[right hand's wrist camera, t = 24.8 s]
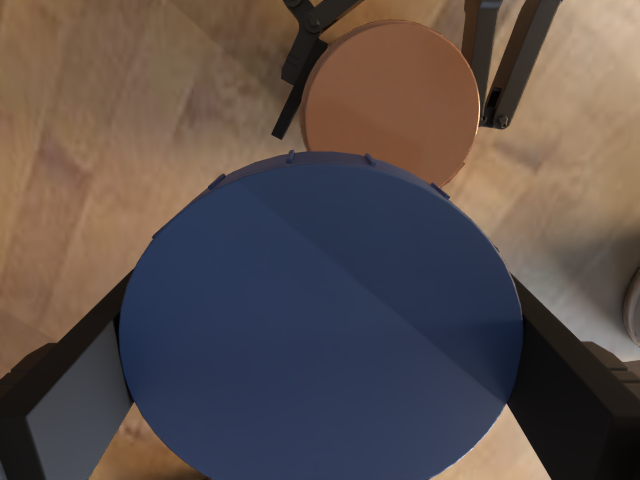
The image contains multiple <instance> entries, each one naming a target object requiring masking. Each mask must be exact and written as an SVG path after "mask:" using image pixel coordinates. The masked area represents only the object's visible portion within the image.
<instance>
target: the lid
mask: <svg viewBox="0 0 640 480" xmlns="http://www.w3.org/2000/svg"><path fill="white" fill-rule="evenodd" d="M449 198H450V196H448V195H447V194H446V193H445V192H444V191H443V190H441V189H440V188H439V187H438V186H437V185H435V184H434V183H433V182H432V183H431V185H430V184H429V183H427V182H425V181H424V180H422V179H420V178H418V177H417V176H415V175H413V174H412V173H410V172H408V171H406V170H404V169H401V168H399V167H397V166H394V165H392V164H389V163H387V162H385V161H381V160H377V159H374V158H372V157H371V155H370V154H368V153H365V156H362V155H358V154H350V153H342V152H334V151H307V152H299V153H295V152H294V150H290V152H289V154H285V155H279V156H276V157H272V158H269V159H265V160H261V161H258V162H255V163H252V164H250V165H248V166H246V167H243V168H241V169H239V170H236V171H234V172H232V173H230V174H229V175H227V176H225V174H222V175H220V176H219V177H218V178H217V179H216V180H215V181H214V182H212V183H211V184H210V185H209V186H208V188H207V189H206V190H205V191H203V192H202V193H201V194H200V195H198V196H197V197H196V198H195V199H194V200H192V201H191V202H190V203H189V204H188V205H187V206H186V207H185V208H183V209H182V210H181V211H180V212H179V213H178V214H177V215H176V216H175V217H173V218H172V219H171V220H170V221H169V222H168V223H167V224H165V225H164V226H163V227H162V228H161V229H160V230H159V231H158V232H156V233H155V234H154V235H153V237H152V238H153V240H152V241H151V242H150V244H149V245H148V247H147V248H146V250H145V252H144V253H143V255H142V256H141V258H140V259H139V261H138V262H137V264H136V266H135V269H134V271H133V273H132V275H131V278H130V280H129V282H128V284H127V287H126V291H125V295H124V298H123V302H122V306H121V312H120V321H119V331H118V333H119V352H120V358H121V363H122V368H123V373H124V377H125V380H126V382H127V385H128V388H129V390H130V393H131V396H132V398H133V400H134V402H135V403H136V405H137V407H138V409H139V411H140V413H141V414H142V416H143V418H144V419H145V420H146V422H147V423H148V424H149V426H150V427H151V429H152V430H153V431H154V433H155V434H156V435H157V436H158V437H159V438H160V439H161V440H162V441H163V442H164V443H165V445H166V446H167V447H168V448H169V449H170V450H171V451H173V452H174V453H175V454H176V455H177V456H179V457H180V458H181V459H182V460H183V461H184V462H186V463H187V464H188V465H190V466H191V467H193V468H194V469H196V470H197V471H199V472H200V473H202V474H203V475H205V476H207V477H209V478H211V479H213V480H429V479H431V478H433V477H435V476H436V475H438V474H440V473H441V472H443V471H444V470H446V469H447V468H449V467H450V466H452V465H453V464H455V463H456V462H457V461H459V460H460V459H461V458H462V457H463V456H464V455H466V454H467V453H468V452H469V451H470V450H471V449H473V448H474V447H475V446H476V444H477V443H478V442H479V441H480V440H481V439H482V438H483V437H484V436H485V435H486V434H487V432H488V431H489V430H490V429H491V427H492V426H493V424H494V423H495V421H496V420H497V419H498V417H499V416H500V414H501V413H502V411H503V409H504V407H505V405H506V403H507V401H508V399H509V397H510V396H511V393H512V390H513V388H514V384H515V380H516V375H517V370H518V365H519V361H520V356H521V351H522V345H523V333H524V328H523V320H522V311H521V304H520V301H519V297H518V294H517V290H516V287H515V283H514V281H513V279H512V277H511V275H510V272H509V270H508V268H507V266H506V264H505V262H504V260H503V258H502V257H501V255H500V254H499V250H498V249H497V248H496V247H495V246H494V245H493V244H492V242H491V241H490V239H489V238H488V237H487V236H486V235H485V234H484V233H483V231H482V230H481V229H480V228H479V227H478V226H477V225H476V224H475V223H474V222H473V221H472V220H471V219H470V218H469V217H468V216H467V215H466V214H465V213H463V212H462V211H461V210H460V209H459V208H458V207H457V206H455V205H454V204H453V203H452V202H451V201H450V200H449Z"/></svg>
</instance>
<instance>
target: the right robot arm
mask: <svg viewBox="0 0 640 480" xmlns="http://www.w3.org/2000/svg"><path fill="white" fill-rule="evenodd" d="M134 269H135V268H134ZM134 269H133V270H132V271H131V272H130V273H129V274H128V275H127V276H126V277H124V278H123V279H122V280H121V281H120V282H119V283H118V284H117V285H116V286H115V287H114V288H113V289H112V290H111V291H110V292H109V293H108V294H107V295H106V296H105V297H104V298H103V299H102V300H101V301H100V302H99V303H98V304H97V305H96V306H95V307H94V308H93V309H92V310H91V311H90V312H89V313H88V314H87V315H86V316H85V317H84V318H82V319H81V320H80V321H79V322H78V323H77V324H76V325H75V326H74V327H73V328H72V329H71V330H70V331H69V332H68V333H67V334H66V335H65V336H64V337H63V338H62V339H61V340H60V341H59V342H58V343H47V344H46V345H44V346H42V347H41V348H39V349H37V350H35V351H34V352H32V353H30V354H28V355H27V356H26V357H24V358H23V359H22V360H21V361H20V362H19V363H18V364H17V365H16V366H15V367H14V368H12V369H11V372H10V373H7V374H6V375H5V376H4V377H3V378H2V379H0V480H88V479H89V477H90V476H91V474H92V472H93V471H94V469H95V467H96V466H97V464H98V462H99V460H100V459H101V457H102V455H103V454H104V452H105V450H106V449H107V447H108V445H109V443H110V442H111V440H112V438H113V437H114V435H115V433H116V432H117V430H118V428H119V426H120V425H121V423H122V421H123V420H124V418H125V416H126V415H127V413H128V411H129V410H130V408H131V406H132V404H133V403H134V400H133V398H132V396H131V393H130V390H129V388H128V385H127V382H126V380H125V377H124V373H123V368H122V363H121V358H120V352H119V333H118V331H119V321H120V312H121V306H122V302H123V298H124V295H125V291H126V287H127V284H128V282H129V280H130V278H131V275H132V273H133V271H134ZM510 275H511V277H512V279H513V281H514V283H515V287H516V290H517V294H518V297H519V301H520V304H521V311H522V320H523V328H524V333H523V345H522V351H521V356H520V361H519V365H518V370H517V375H516V380H515V384H514V388H513V390H512V393H511V396H510V397H509V399H508V401H507V405H508V407H509V408H510V410H511V412H512V413H513V415H514V417H515V418H516V420H517V422H518V424H519V425H520V427H521V429H522V430H523V432H524V434H525V435H526V437H527V439H528V441H529V442H530V444H531V446H532V447H533V449H534V451H535V452H536V454H537V456H538V457H539V459H540V461H541V463H542V464H543V466H544V468H545V469H546V471H547V473H548V474H549V476H550V478H551V480H640V378H639V377H638V376H637V375H636V374H635V373H634V372H633V371H629V368H628V367H627V366H626V365H625V364H624V363H623V362H622V361H621V360H619V359H618V358H617V357H616V356H615V355H614V354H613V353H611V352H609V351H607V350H606V349H604V348H602V347H600V346H599V345H597V344H595V343H593V342H581V341H580V340H579V339H578V338H577V337H576V336H575V335H574V334H573V333H572V332H571V331H570V330H568V329H567V328H566V327H565V326H564V325H563V324H562V323H561V322H560V321H559V320H558V319H557V318H556V317H555V316H554V315H553V314H552V313H551V312H550V311H549V310H548V309H547V308H546V307H545V306H544V305H543V304H542V303H541V302H540V301H539V300H538V299H537V298H536V297H535V296H534V295H533V294H532V293H531V292H530V291H529V290H528V289H526V288H525V287H524V286H523V285H522V284H521V283H520V282H519V281H518V280H517V279H516V278H515V277H514V276H513V275H512V274H511V273H510ZM205 480H213V479H211V478H209V477H208V478H206V479H205Z"/></svg>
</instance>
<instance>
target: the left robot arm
mask: <svg viewBox="0 0 640 480" xmlns="http://www.w3.org/2000/svg"><path fill="white" fill-rule="evenodd" d="M283 1H284V3H285V5H286V7H287V8H288V10H289V11H290V12H291V13H292V14H293V16H294V17H295V18H296V19H297V20H298V22H299V32H298V35H297V37H296V39H295V42H294V44H293V46H292V48H291V50H290V53H289V55H288V57H287V59H286V61H285V64H284V66H283V68H282V74H281V79H283V80H285V81H286V82H288V83H290V84H292V85H294V87H293V89H292V91H291V93H290V95H289V98H288V100H287V102H286V104H285V106H284V108H283V110H282V112H281V115H280V117H279V119H278V121H277V123H276V125H275V127H274V129H273V132H272V134H271V135H273V136H275V137H277V138H279V139H281V140H282V138H283V137H284V135H285V134H286V132H287V130H288V127H289V125H290V123H291V121H292V119H293V117H294V115H295V113H296V111H297V109H298V107H299V105H300V103H301V100H302V95H303V91H304V88H305V84H306V82H307V79H308V77H309V75H310V72H311V71H312V69H313V67H314V65H315V64H316V62H317V61H318V59H319V58H320V57H321V55H322V54H323V53H324V52H325V51H326V49H327V43H325V42H323V41H322V40H320V39H319V37H320V35H321V34H322V33H323V32H324V31H326V30H327V29H328V28H329V27H331V26H332V25H333V24H335V23H336V22H337V21H338V20H340V19H341V18H342V17H344V16H345V15H346V14H347V13H349V12H350V11H351V10H352V9H354V8H355V7H356V6H358V5H359V4H360V3H361V2H363V1H364V0H323V1H322V2H321V3H320V4H318V5H317V6H316V7H314V6H313V5H312V4H311V2H310V1H309V0H283ZM502 1H503V0H465V6H464V11H465V14H466V16H465V25H464V33H463V41H462V49H461V53H462V55H463V56H464V58H465V59H466V61H467V62H468V64H469V66H470V68H471V69H472V72H473V74H474V77H475V80H476V83H477V87H478V92H479V99H480V118H479V124H478V127H489V128H496V129H505V128H507V127H508V126H509V125H510V123H511V121H512V118H513V116H514V113H515V111H516V109H517V106H518V104H519V101H520V99H521V96H522V94H523V92H524V89H525V87H526V84H527V82H528V79H529V77H530V74H531V72H532V70H533V67H534V65H535V62H536V60H537V57H538V55H539V52H540V50H541V48H542V45H543V43H544V40H545V38H546V35H547V33H548V30H549V28H550V26H551V23H552V21H553V18H554V16H555V13H556V11H557V8H558V6H559V5H560V4H561V2H562V1H563V0H526V1H525V3H524V5H523V6H522V8H521V11H520V13H519V15H518V18H517V20H516V23H515V26H514V28H513V31H512V34H511V36H510V39H509V41H508V44H507V47H506V49H505V52H504V55H503V57H502V60H501V63H500V65H499V68H498V70H497V73H496V76H495V78H494V81H493V84H492V86H491V89H490V91H489V94H488V97H487V99H486V93H487V86H488V79H489V72H490V65H491V59H492V52H493V45H494V38H495V31H496V24H497V17H498V11H499V7H500V5H501V4H502ZM485 100H486V102H485ZM623 318H624V323H625V327H626V329H627V332H628V334H629V335H630V337H631V338H632V340H633V341H634V342H635V343H636V344H637V345H638V346H639V347H640V268H639V270H638V271H637V273H636V274H635V276H634V278H633V279H632V281H631V283H630V285H629V287H628V290H627V293H626V296H625V300H624V306H623ZM623 363H624V364H625V365H626V366H627V367H628V368H629V371H633V372H634V373H635V374H636V375H637V376H638V377H639V378H640V360H638V361H629V362H623Z"/></svg>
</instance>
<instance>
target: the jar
mask: <svg viewBox="0 0 640 480" xmlns="http://www.w3.org/2000/svg"><path fill="white" fill-rule="evenodd" d="M479 118H480V99H479V92H478V87H477V83H476V80H475V77H474V74H473V72H472V69H471V68H470V66H469V64H468V62H467V61H466V59H465V58H464V56H463V55H462V53H461V52H460V50H459V49H458V48H457V47H456V46H455V45H453V44H452V43H451V42H450V41H449V40H448V39H447V38H445V37H444V36H443V35H442V34H441V33H439V32H436V31H434V30H432V29H430V28H428V27H426V26H423V25H421V24H418V23H414V22H409V21H404V20H383V21H376V22H372V23H368V24H365V25H362V26H360V27H357V28H355V29H353V30H351V31H349V32H348V33H346V34H344V35H343V36H341V37H340V38H339V39H338V40H336V41H335V42H334V43H333V44H332V45H331V46H330V47H329V48H328V49H327V50H326V51H325V52H324V53H323V54H322V55H321V57H320V58H319V59H318V61H317V62H316V64H315V65H314V67H313V69H312V71H311V72H310V75H309V77H308V79H307V82H306V84H305V88H304V91H303V95H302V100H301V107H300V125H301V133H302V137H303V141H304V144H305V147H306V150H307V151H334V152H342V153H350V154H358V155H362V156H365V153H368V154H370V155H371V157H372V158H374V159H377V160H381V161H385V162H387V163H389V164H392V165H394V166H397V167H399V168H401V169H404V170H406V171H408V172H410V173H412V174H413V175H415V176H417V177H418V178H420V179H422V180H424V181H425V182H427V183H429V184H430V185H431V183H432V182H433V183H434V184H435V185H437V186H438V187H439V188H442V187H443V186H444V185H446V184H447V183H448V182H450V181H451V180H452V179H453V177H454V176H455V175H456V174H457V173H458V172H459V170H460V169H461V168H462V167H463V166H464V165H465V163H464V160H465V159H466V157H467V155H468V154H469V152H470V150H471V147H472V145H473V143H474V140H475V137H476V134H477V130H478V124H479Z"/></svg>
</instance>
